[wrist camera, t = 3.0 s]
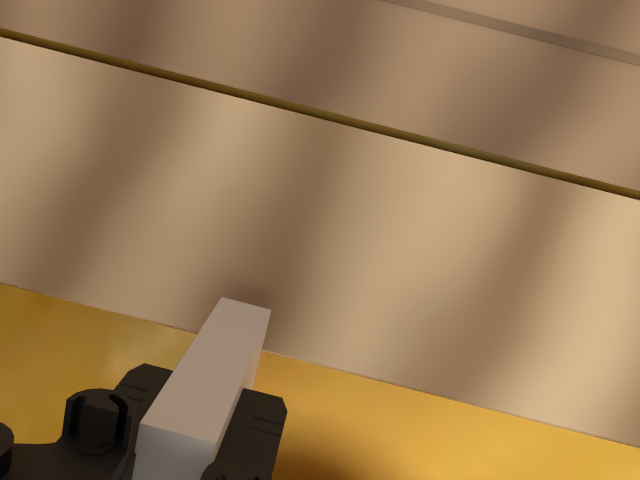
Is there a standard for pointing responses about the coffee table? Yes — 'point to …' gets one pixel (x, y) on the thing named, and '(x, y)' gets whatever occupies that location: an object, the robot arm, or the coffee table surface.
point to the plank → (321, 240)
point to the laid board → (399, 64)
